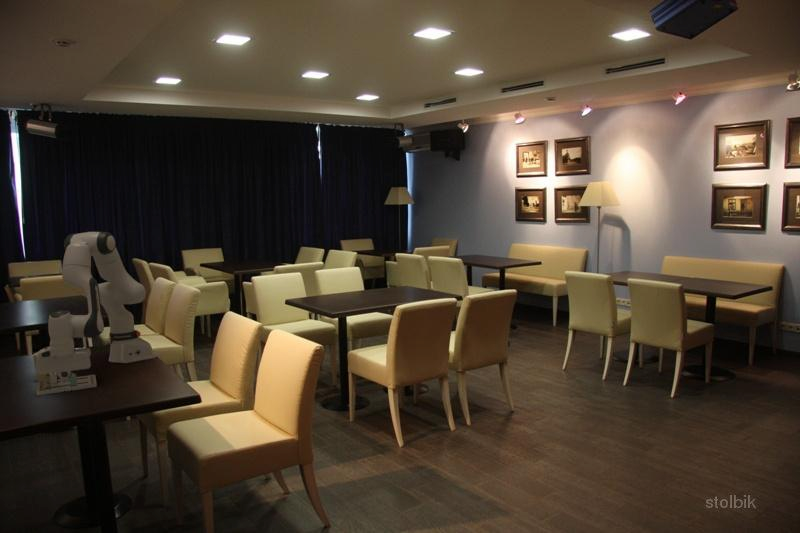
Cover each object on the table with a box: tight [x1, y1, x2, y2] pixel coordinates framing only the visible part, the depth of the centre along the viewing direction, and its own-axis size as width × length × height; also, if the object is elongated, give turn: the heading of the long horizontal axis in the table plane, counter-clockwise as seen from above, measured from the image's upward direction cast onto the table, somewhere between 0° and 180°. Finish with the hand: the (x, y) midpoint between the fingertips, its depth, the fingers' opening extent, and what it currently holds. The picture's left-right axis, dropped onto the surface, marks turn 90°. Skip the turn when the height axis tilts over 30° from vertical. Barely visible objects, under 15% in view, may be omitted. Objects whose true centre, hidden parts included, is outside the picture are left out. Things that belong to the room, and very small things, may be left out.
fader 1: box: [50, 373, 58, 384], centre depth 258 cm, size 2×4×4 cm, turn 29°
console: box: [36, 373, 98, 396], centre depth 257 cm, size 22×15×2 cm
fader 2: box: [69, 372, 77, 386], centre depth 255 cm, size 2×4×4 cm, turn 29°
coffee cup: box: [32, 351, 50, 382], centre depth 269 cm, size 9×9×12 cm
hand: (65, 381), depth 253 cm, fingers closed
